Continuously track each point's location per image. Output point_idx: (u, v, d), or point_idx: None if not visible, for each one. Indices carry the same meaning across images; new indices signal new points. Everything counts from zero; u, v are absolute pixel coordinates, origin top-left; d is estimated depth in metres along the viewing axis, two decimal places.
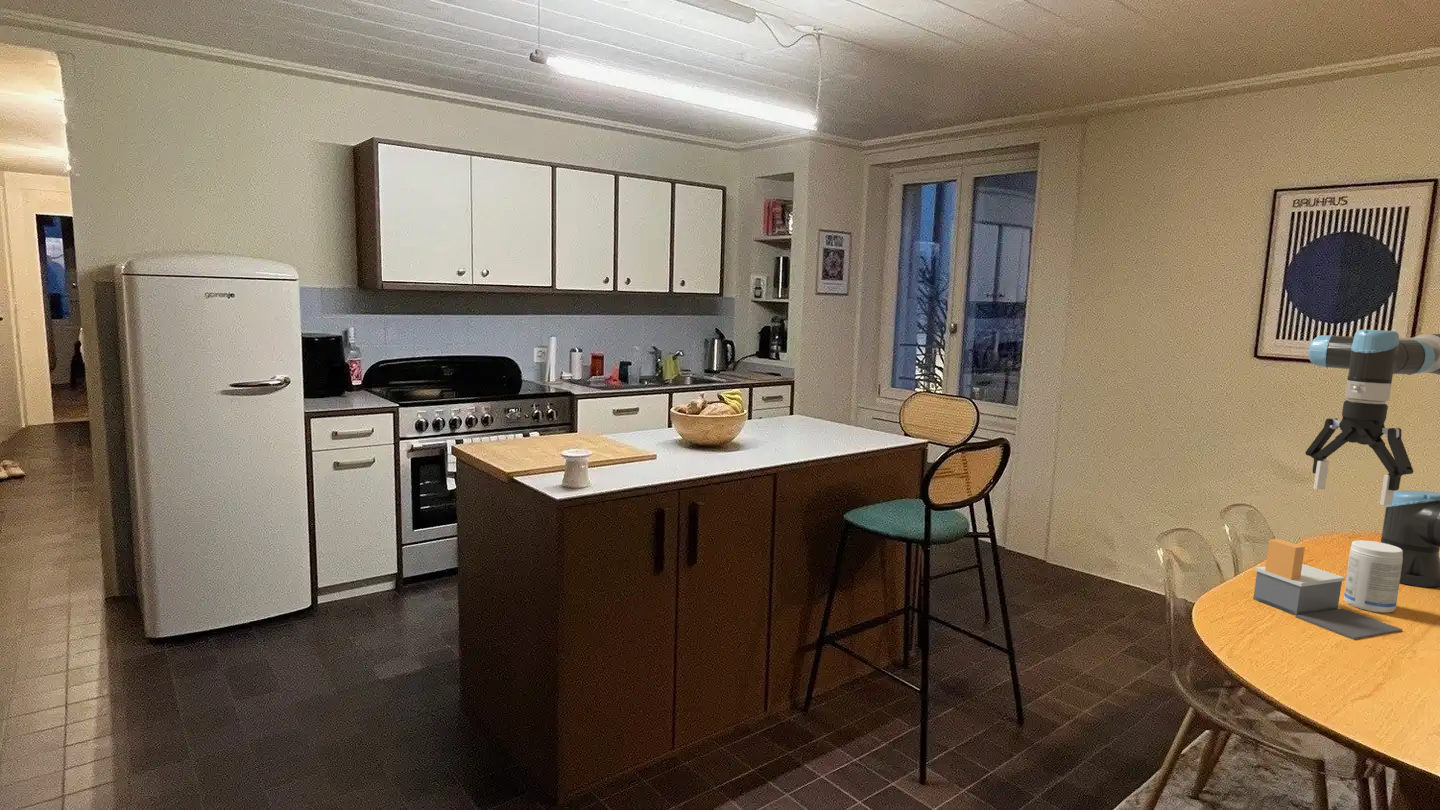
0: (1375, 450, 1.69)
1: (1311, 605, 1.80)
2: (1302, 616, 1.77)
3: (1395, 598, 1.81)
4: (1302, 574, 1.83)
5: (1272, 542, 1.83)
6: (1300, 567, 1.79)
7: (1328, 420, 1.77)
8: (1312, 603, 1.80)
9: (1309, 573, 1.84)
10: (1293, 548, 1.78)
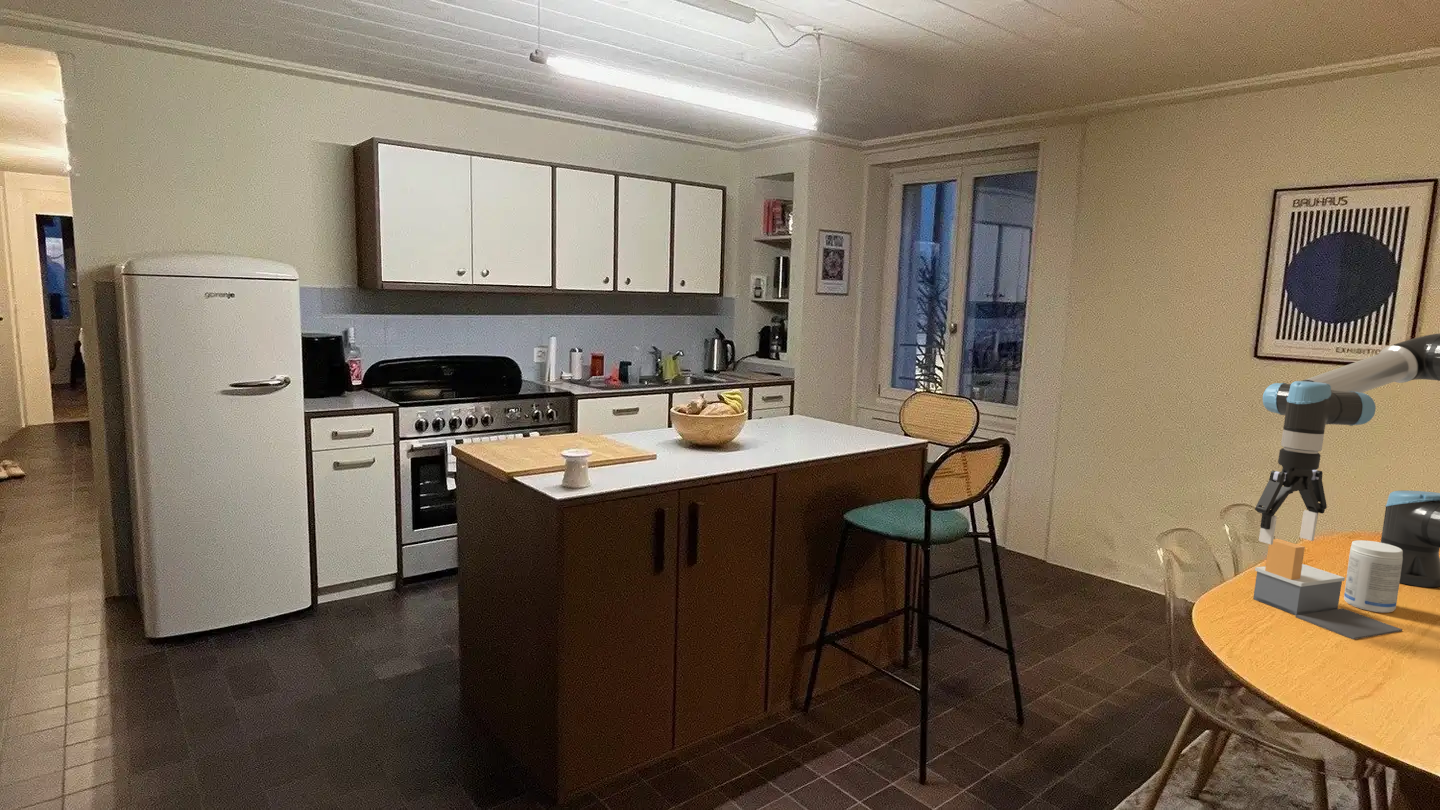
0: None
1: (1311, 605, 1.80)
2: (1302, 616, 1.77)
3: (1395, 598, 1.81)
4: (1302, 574, 1.83)
5: None
6: (1300, 567, 1.79)
7: None
8: (1312, 603, 1.80)
9: (1309, 573, 1.84)
10: (1293, 548, 1.78)
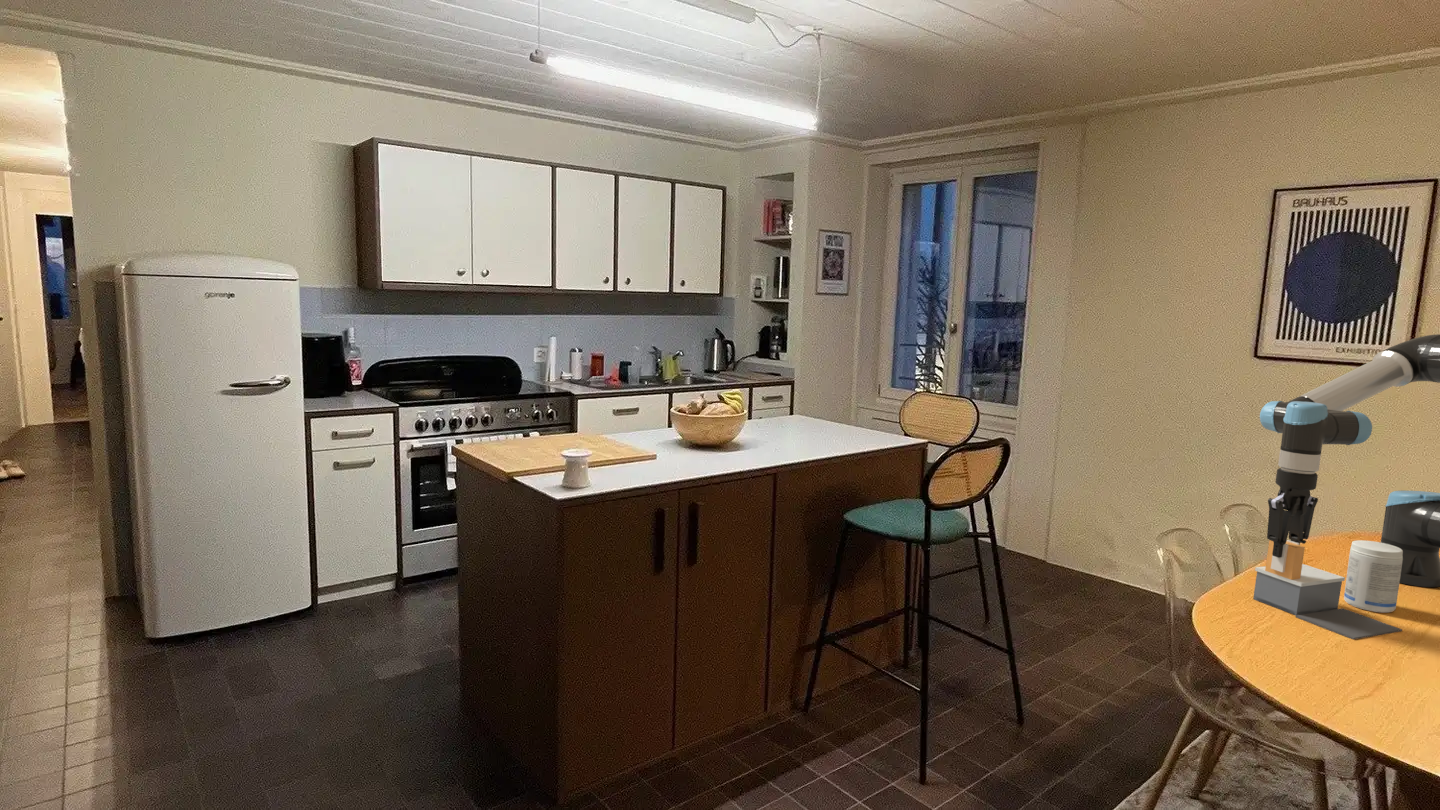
0: None
1: (1311, 605, 1.80)
2: (1302, 616, 1.77)
3: (1395, 598, 1.81)
4: (1302, 574, 1.83)
5: (1272, 542, 1.83)
6: (1300, 567, 1.79)
7: None
8: (1312, 603, 1.80)
9: (1309, 573, 1.84)
10: (1293, 548, 1.78)
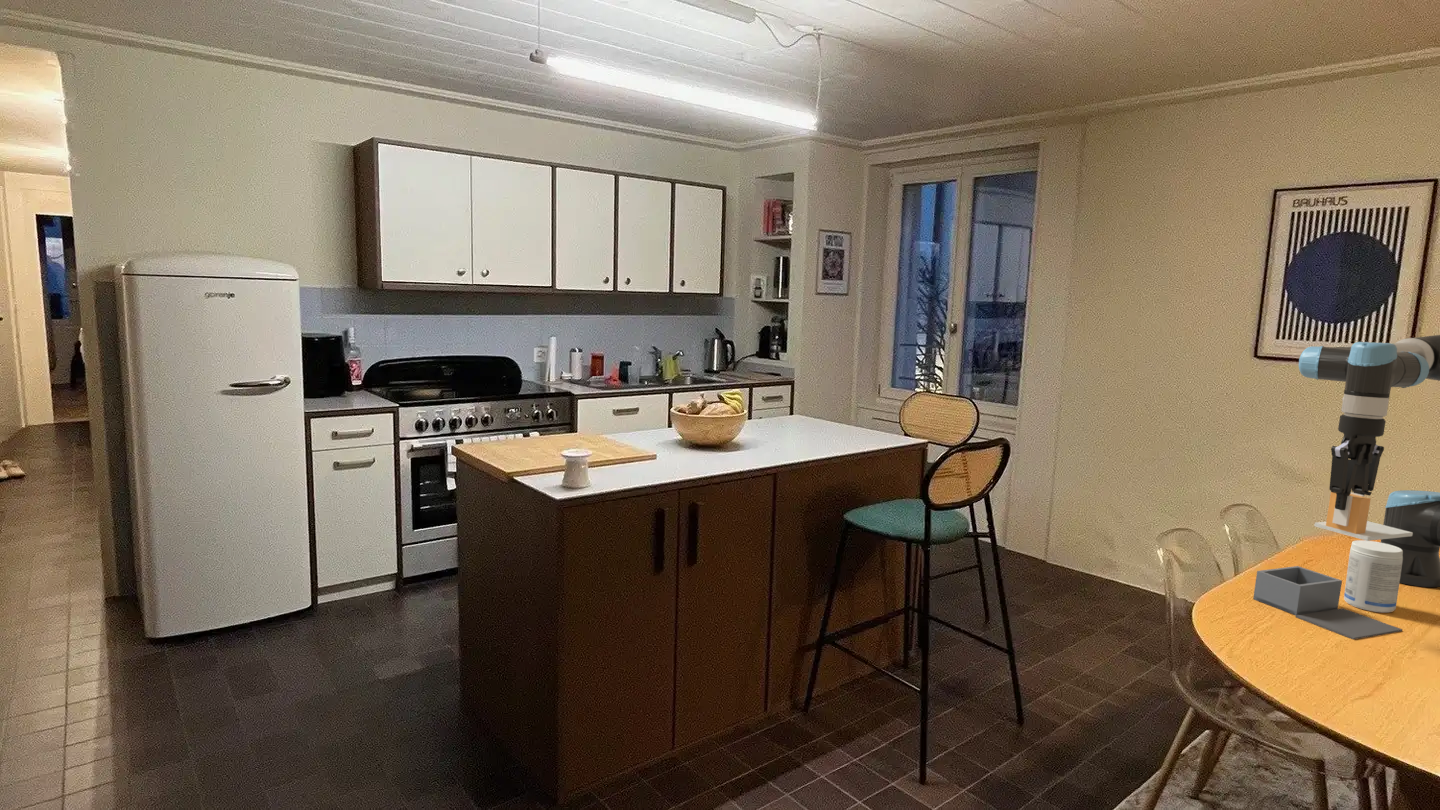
0: None
1: (1311, 605, 1.80)
2: (1302, 616, 1.77)
3: (1395, 598, 1.81)
4: (1366, 529, 1.70)
5: (1334, 494, 1.70)
6: (1365, 520, 1.67)
7: None
8: (1312, 603, 1.80)
9: (1373, 528, 1.71)
10: (1358, 500, 1.66)
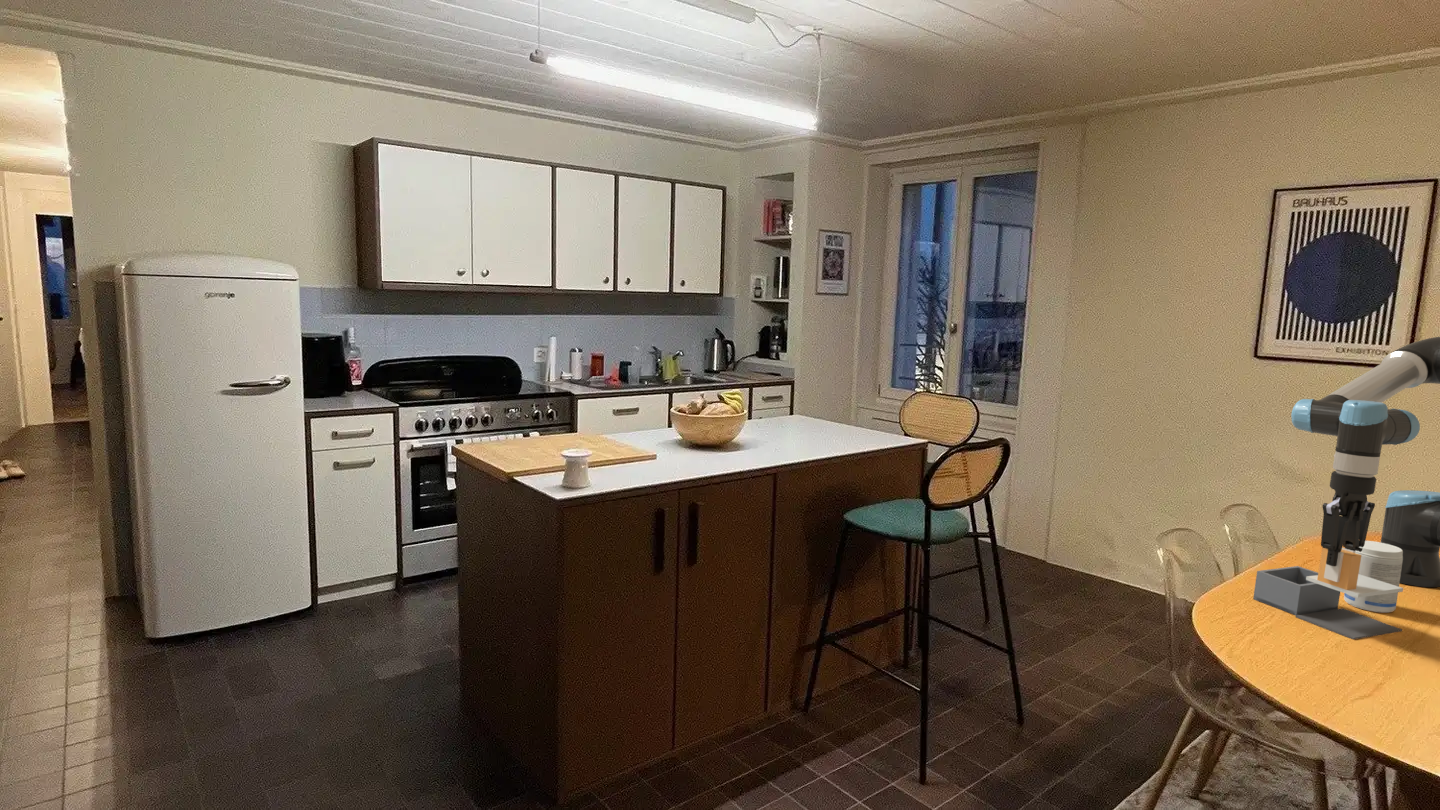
0: None
1: (1311, 605, 1.80)
2: (1302, 616, 1.77)
3: (1395, 598, 1.81)
4: (1357, 584, 1.72)
5: (1325, 550, 1.72)
6: (1356, 577, 1.68)
7: None
8: (1312, 603, 1.80)
9: (1364, 583, 1.73)
10: (1349, 556, 1.67)
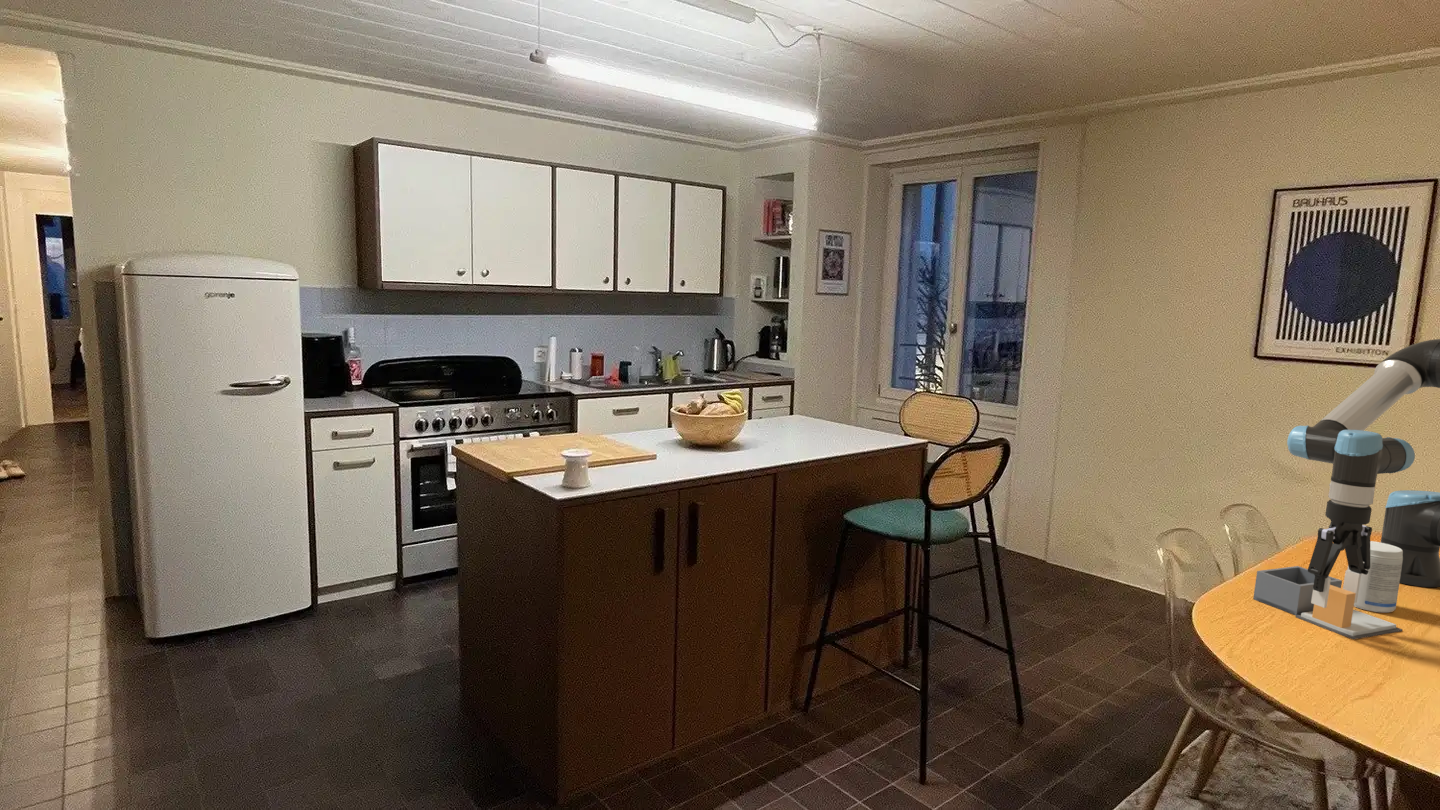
0: None
1: (1311, 605, 1.80)
2: None
3: (1395, 598, 1.81)
4: (1351, 621, 1.73)
5: None
6: (1351, 614, 1.70)
7: None
8: None
9: (1358, 619, 1.74)
10: (1344, 595, 1.69)
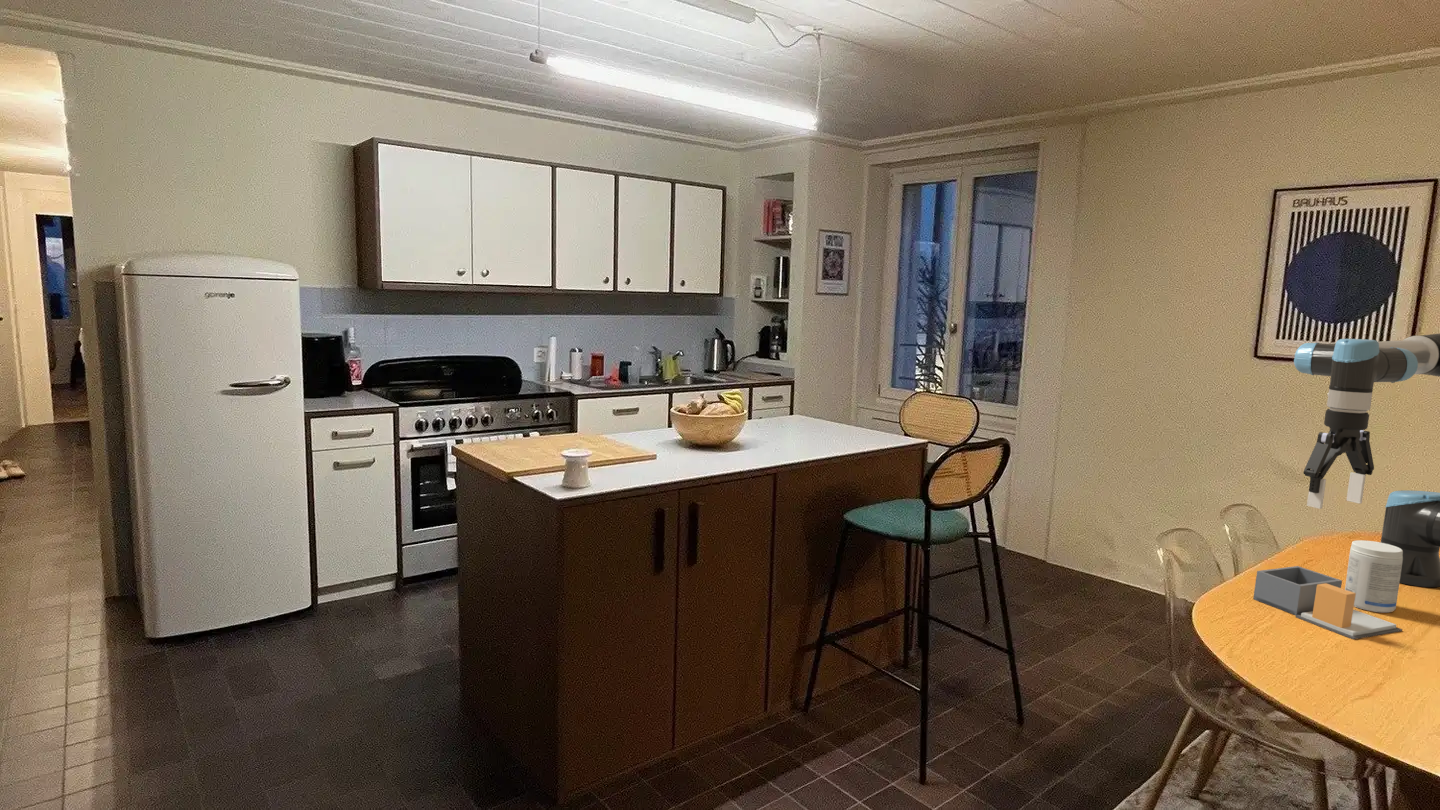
0: None
1: (1311, 605, 1.80)
2: None
3: (1395, 598, 1.81)
4: (1351, 621, 1.73)
5: (1320, 587, 1.73)
6: (1351, 614, 1.70)
7: None
8: (1312, 603, 1.80)
9: (1358, 619, 1.74)
10: (1344, 595, 1.69)
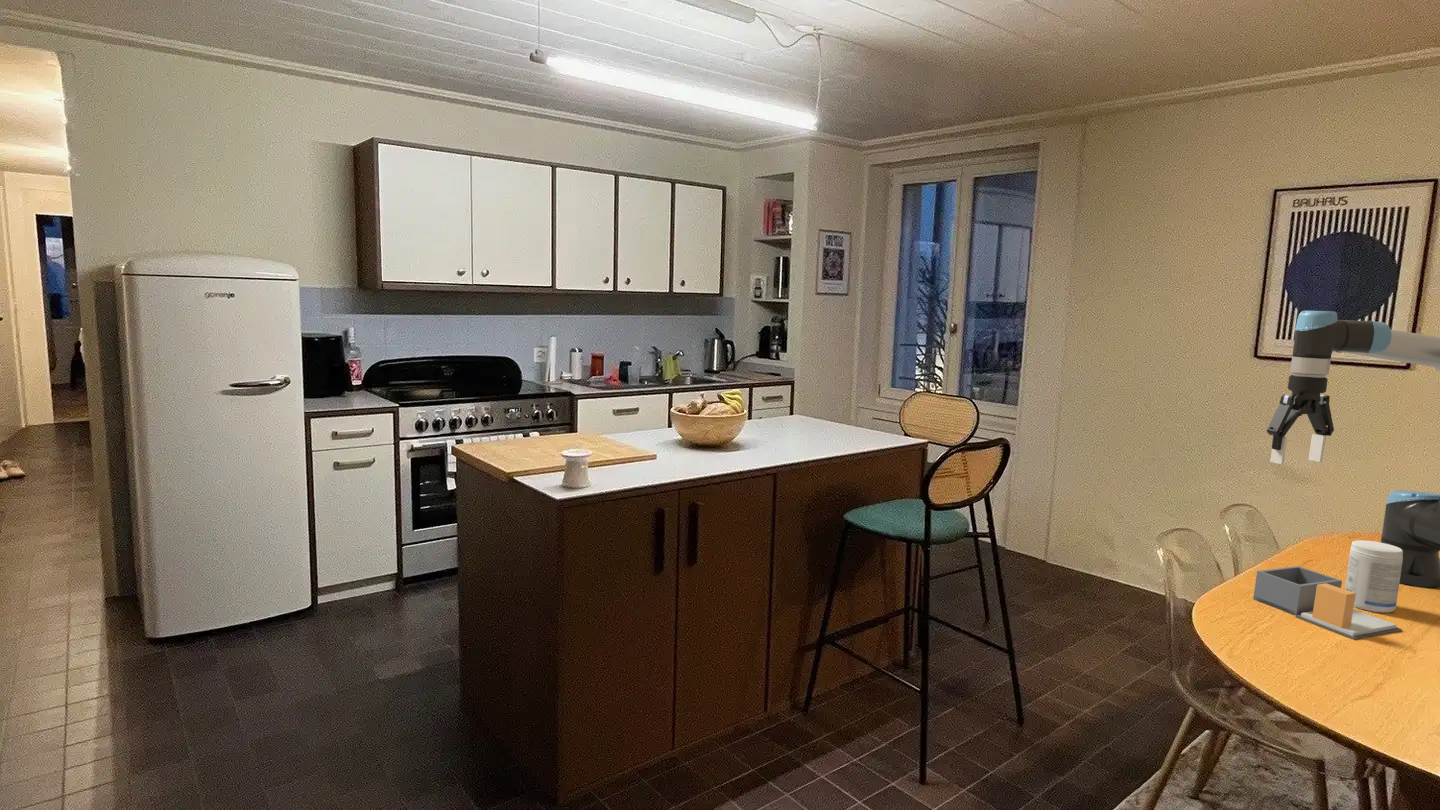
0: None
1: (1311, 605, 1.80)
2: None
3: (1395, 598, 1.81)
4: (1351, 621, 1.73)
5: (1320, 587, 1.73)
6: (1351, 614, 1.70)
7: None
8: (1312, 603, 1.80)
9: (1358, 619, 1.74)
10: (1344, 595, 1.69)
